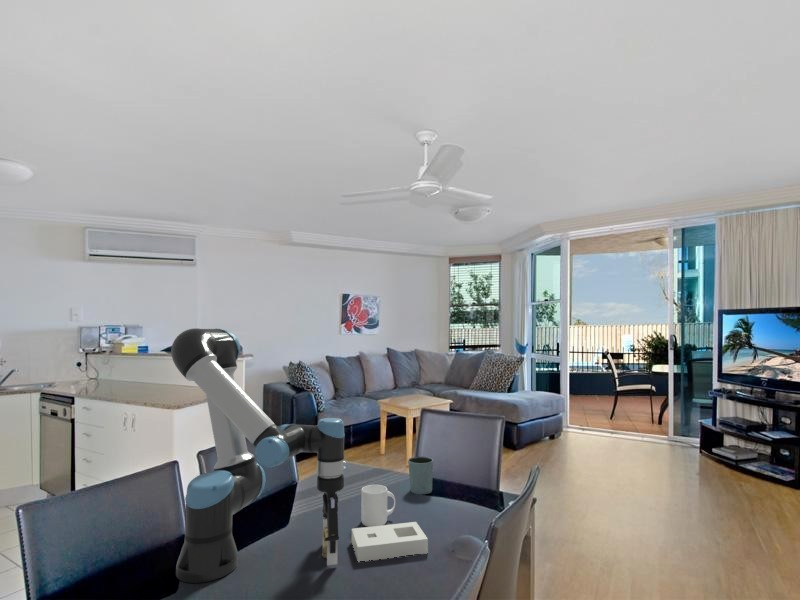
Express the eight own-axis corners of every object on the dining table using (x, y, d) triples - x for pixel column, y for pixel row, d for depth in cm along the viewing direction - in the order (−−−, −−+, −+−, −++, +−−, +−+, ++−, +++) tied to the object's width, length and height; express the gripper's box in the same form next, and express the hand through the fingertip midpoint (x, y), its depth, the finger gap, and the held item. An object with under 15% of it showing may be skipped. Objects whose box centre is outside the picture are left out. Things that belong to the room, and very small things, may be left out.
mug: (400, 523, 146) (400, 489, 147) (366, 529, 141) (366, 494, 142) (390, 513, 154) (390, 481, 155) (357, 519, 149) (357, 486, 150)
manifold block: (357, 562, 121) (357, 547, 121) (351, 542, 132) (351, 528, 132) (428, 553, 125) (427, 538, 126) (416, 535, 137) (416, 521, 137)
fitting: (322, 559, 122) (323, 533, 123) (321, 552, 126) (321, 527, 127) (338, 557, 123) (338, 531, 124) (336, 550, 127) (336, 525, 128)
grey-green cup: (434, 495, 172) (433, 463, 173) (408, 495, 172) (407, 463, 173) (432, 486, 182) (432, 456, 183) (407, 486, 182) (407, 456, 183)
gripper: (349, 487, 115) (349, 573, 114) (338, 461, 139) (338, 531, 138) (320, 490, 113) (319, 577, 112) (314, 463, 138) (313, 534, 136)
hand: (329, 552), depth 125 cm, fingers open, 13 cm apart
